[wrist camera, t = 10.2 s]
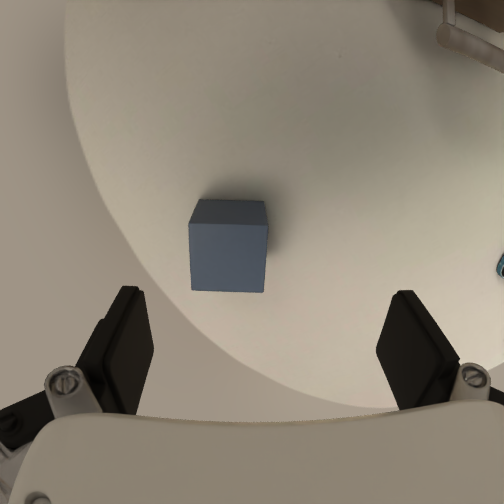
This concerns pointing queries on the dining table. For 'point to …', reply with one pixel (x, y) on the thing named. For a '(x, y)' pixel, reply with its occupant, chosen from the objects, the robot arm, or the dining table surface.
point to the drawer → (482, 10)
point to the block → (228, 246)
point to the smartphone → (501, 268)
